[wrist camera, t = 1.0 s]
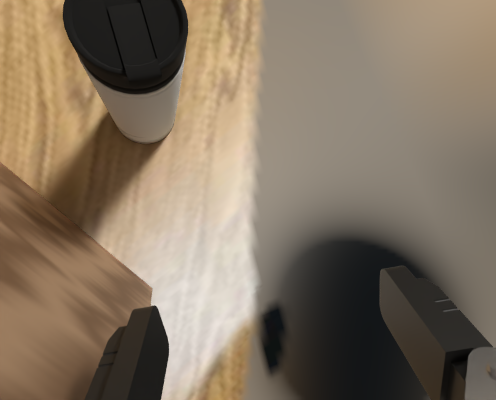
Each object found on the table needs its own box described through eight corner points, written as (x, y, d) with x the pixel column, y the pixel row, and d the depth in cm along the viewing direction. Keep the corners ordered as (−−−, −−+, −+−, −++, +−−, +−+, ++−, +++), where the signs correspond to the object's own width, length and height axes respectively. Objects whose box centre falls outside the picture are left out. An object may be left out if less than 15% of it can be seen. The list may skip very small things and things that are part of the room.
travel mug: (124, 153, 36) (80, 92, 16) (106, 91, 35) (40, -46, 16) (182, 139, 37) (206, 69, 18) (165, 80, 37) (171, -57, 17)
